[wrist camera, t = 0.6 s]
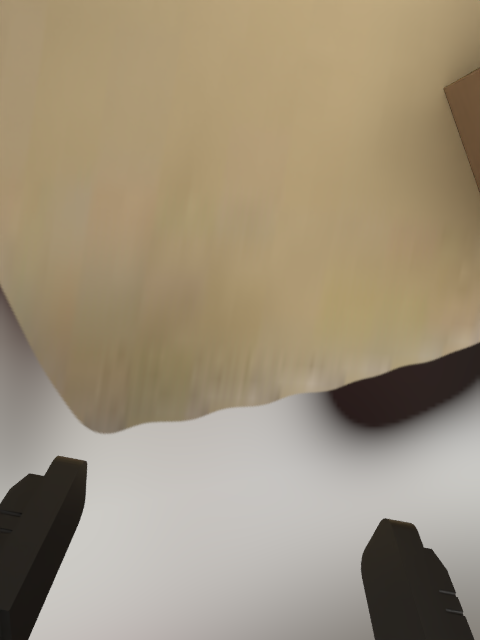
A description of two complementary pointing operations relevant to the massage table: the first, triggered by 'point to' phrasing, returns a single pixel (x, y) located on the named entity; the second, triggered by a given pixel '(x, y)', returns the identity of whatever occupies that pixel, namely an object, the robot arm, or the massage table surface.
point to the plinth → (467, 115)
